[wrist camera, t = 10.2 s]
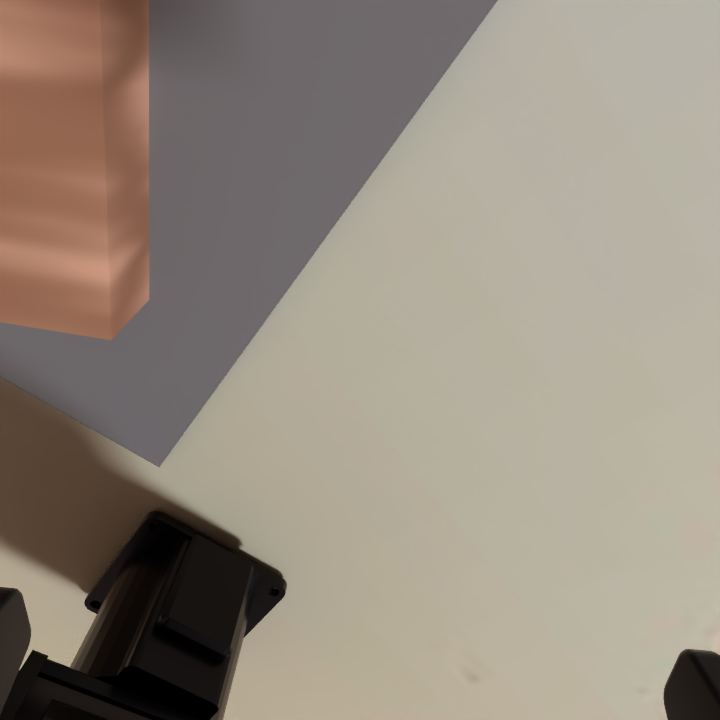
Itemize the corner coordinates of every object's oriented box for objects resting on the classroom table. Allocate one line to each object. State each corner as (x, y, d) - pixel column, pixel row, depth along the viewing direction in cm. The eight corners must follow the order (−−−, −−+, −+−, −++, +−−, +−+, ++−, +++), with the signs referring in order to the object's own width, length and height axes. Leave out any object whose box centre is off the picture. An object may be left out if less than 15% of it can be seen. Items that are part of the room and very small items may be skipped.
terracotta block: (111, 340, 17) (89, -303, 11) (-35, 316, 17) (-136, -345, 11) (149, 299, 20) (148, -238, 14) (23, 278, 20) (-33, -271, 14)
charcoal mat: (164, 457, 24) (159, 467, 23) (-281, 202, 20) (-300, 207, 19) (536, -58, 16) (541, -61, 15) (-93, -652, 12) (-115, -684, 11)
